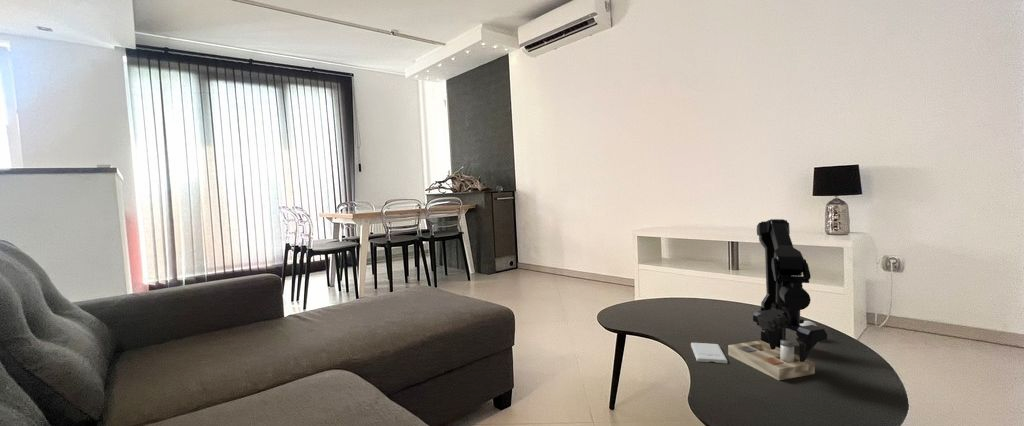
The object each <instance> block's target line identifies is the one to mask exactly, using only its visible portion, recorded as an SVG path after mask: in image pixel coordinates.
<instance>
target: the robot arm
mask: <svg viewBox="0 0 1024 426" xmlns="http://www.w3.org/2000/svg"><path fill="white" fill-rule="evenodd" d="M790 232H791V230H790V222H788V220H787V219H784V218H782V219H780V218H779V219H778V218H777V219H775V218H774V219H773V218H771V219H767V221H766V220H765V221H760V222H758V224H757V225H756V235H757V236H758V240H759V241H758V242H759V243H760V244H761V246H762V247H763V248H764V253H765V254H764V255H765V256H764V257H765V258H764V259H765V285H766V287H765V289H766V295H765V296H764V298H763V299H762V300H761V303H760V306H761V307H759V308H758V310H757V311H754V313H753V315H752V322H754V323H756V325H757V326H759V327H760V328H761V330H760V339H759V340H757V341H760V340H761V341H763V342H766V343H768V344H769V345H770V347H771V349H772V350H774V349H775V348H776V347H778V348H780V341H781V340H782V339H787V338H786V337H787V336H786V334H787V332H786V331H787V329H788V330H791V331H792V332H793V331H794V332H796V333H795V334H796V336H797V337H796V338H795V340H796V342H798V351H799V352H798V354H799V355H798V356H799V358H800V362H804V361H805V360H807V358H808V356H809V355H810V353H811V352H812V350H813V349H814V347H815V346H816V345H817V344H818V343H820V342H823V341H827V340H828V332H827V330H826V329H825V328H822V327H820V326H814V325H808V326H801V325H800V324H802V323H804V321H805V320H804V319H803V318H801V311H802V310H805V309H806V308H808V307H809V305H810V304H811V297H810V294H809V293H808V292H807V290H805V289H804V287H803V284H809V283H810V280H811V276H812V275H811V271H810V267H809V263H807V260H806V259H805V258H804V256H803V255H802V252H801V250H799V249H797V248H795V247H794V245H793V242H792V239H791V236H790Z"/></svg>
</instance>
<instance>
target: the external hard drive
mask: <svg viewBox="0 0 1024 426" xmlns="http://www.w3.org/2000/svg"><path fill="white" fill-rule="evenodd" d="M690 347H691V350H692V352H693V355H694V358H695V359H696V362H698V363H699V362H701V363H714V362H715V363H716V364H728V359H727V357H726V355H725V353H724V352H723V350H722V347H721V346H720V344H717V343H705V342H703V343H702V342H691V343H690Z"/></svg>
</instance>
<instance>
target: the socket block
mask: <svg viewBox="0 0 1024 426" xmlns="http://www.w3.org/2000/svg"><path fill="white" fill-rule="evenodd" d="M759 340H760V341H758V340H755V341H748V342H741V343H733V344H728V350H727V352H728V356H729V357H731V358H734V359H735V360H737V361H739V362H741V363H743V364H746V365H748V366H749V367H752V368H754V369H755V370H758V371H759V372H761V373H763V374H765V375H768V376H770V377H771V378H774V379H775V380H777V381H782V380H788V379H794V378H799V377H804V376H805V377H806V376H812V375H814V374H816V371H815V370H816V362H813V361H811V360H808V359H806V360H805V361H804V362H800V358H799V355H797V354H794V362H792V363H786V362H784V361H781V360H780V348H778V347H776V348H775V349H774V350H772V349H771V347H770V345H769V344H768V343H766V342H763V341H761V339H759Z"/></svg>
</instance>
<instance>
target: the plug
mask: <svg viewBox="0 0 1024 426" xmlns="http://www.w3.org/2000/svg"><path fill="white" fill-rule="evenodd" d="M794 355H795V341H793V340H792V339H787V338H786V339H782V340H781V341H780V360H781V361H784V362H786V363H792V362H794Z"/></svg>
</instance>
